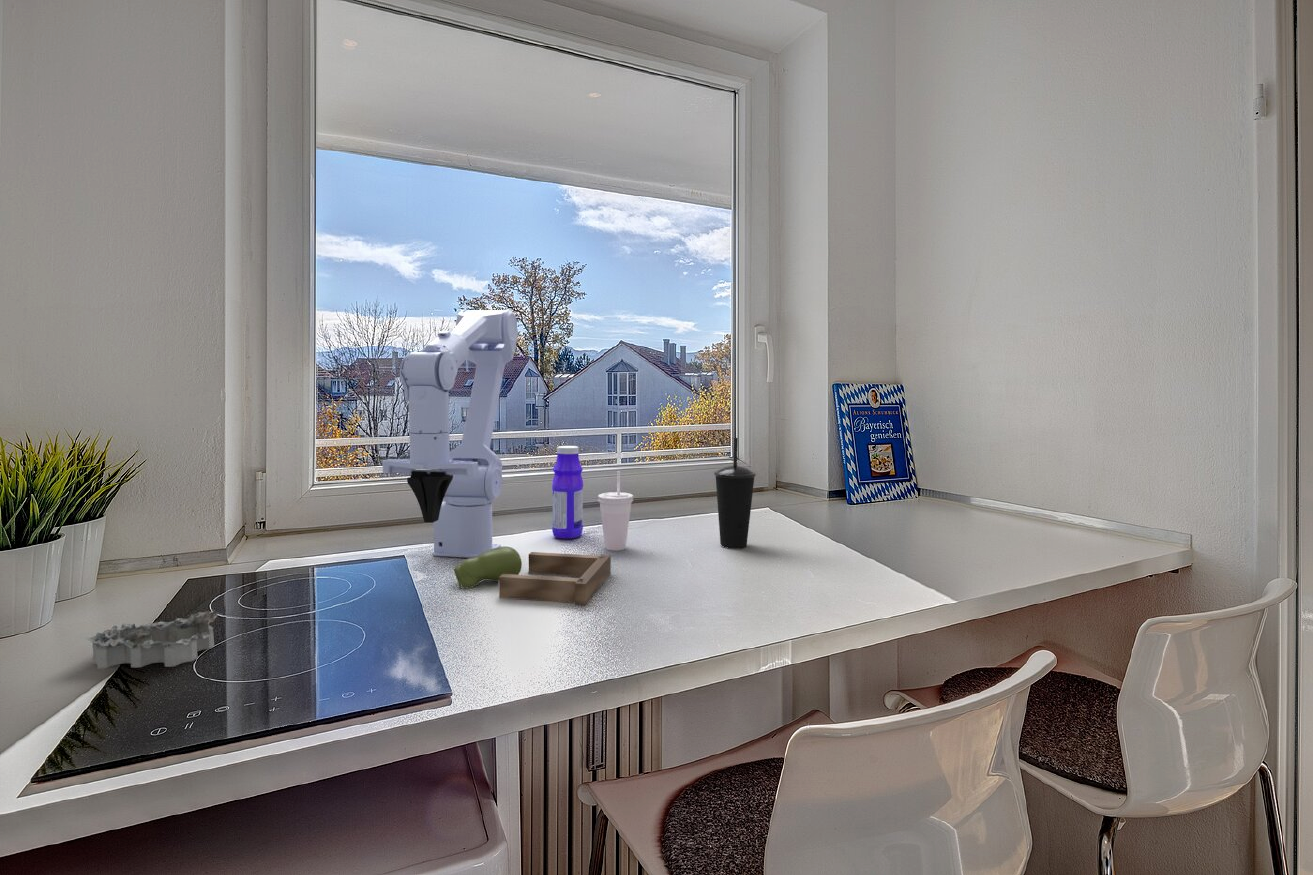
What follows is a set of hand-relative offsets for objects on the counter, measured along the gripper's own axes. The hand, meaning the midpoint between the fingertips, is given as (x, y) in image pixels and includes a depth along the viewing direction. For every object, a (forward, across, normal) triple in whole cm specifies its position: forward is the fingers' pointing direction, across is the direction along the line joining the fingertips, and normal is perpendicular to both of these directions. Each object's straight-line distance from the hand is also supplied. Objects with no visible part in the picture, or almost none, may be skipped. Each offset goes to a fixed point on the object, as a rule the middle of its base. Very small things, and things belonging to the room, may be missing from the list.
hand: (431, 521), depth 104 cm
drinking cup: (+9, +44, +29) cm, 54 cm away
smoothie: (+9, +24, +23) cm, 34 cm away
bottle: (+9, +12, +30) cm, 34 cm away
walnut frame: (+9, +20, 0) cm, 21 cm away
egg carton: (+9, -16, -32) cm, 37 cm away
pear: (+9, +9, 0) cm, 13 cm away
